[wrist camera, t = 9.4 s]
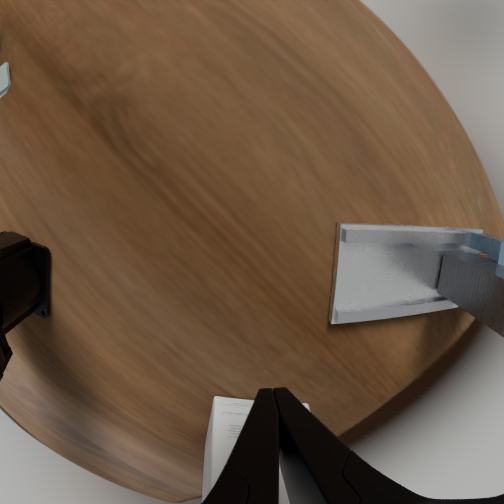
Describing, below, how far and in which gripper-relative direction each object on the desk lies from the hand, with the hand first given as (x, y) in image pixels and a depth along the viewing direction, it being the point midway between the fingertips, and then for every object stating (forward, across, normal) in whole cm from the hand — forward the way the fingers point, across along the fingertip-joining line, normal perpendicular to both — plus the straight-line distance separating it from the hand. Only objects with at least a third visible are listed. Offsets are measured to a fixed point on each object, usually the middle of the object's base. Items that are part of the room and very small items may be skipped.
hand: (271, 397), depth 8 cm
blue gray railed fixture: (+12, -14, 0) cm, 18 cm away
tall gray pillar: (+11, -19, 0) cm, 22 cm away
